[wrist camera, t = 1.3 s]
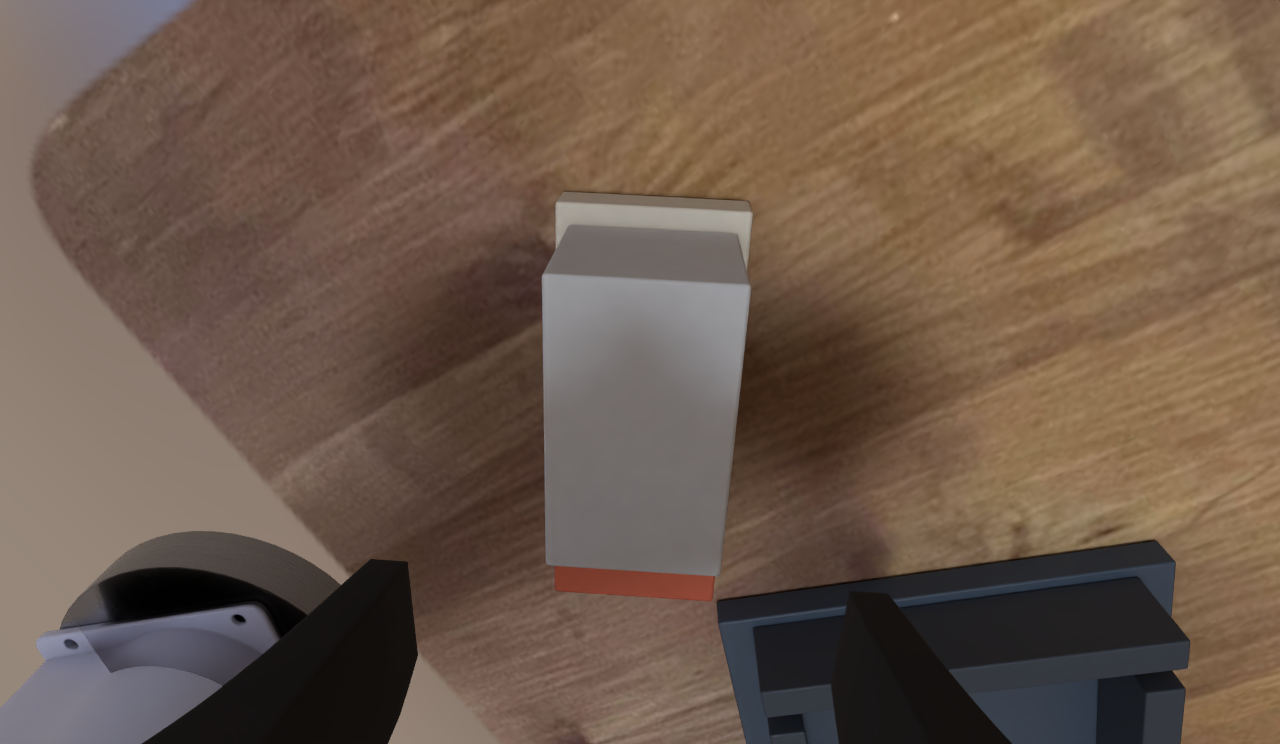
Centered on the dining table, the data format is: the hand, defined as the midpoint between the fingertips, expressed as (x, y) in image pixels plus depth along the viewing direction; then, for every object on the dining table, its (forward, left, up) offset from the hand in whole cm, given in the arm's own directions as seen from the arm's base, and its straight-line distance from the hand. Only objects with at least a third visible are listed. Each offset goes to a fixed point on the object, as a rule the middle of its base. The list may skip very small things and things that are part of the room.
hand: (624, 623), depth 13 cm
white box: (0, 0, -9) cm, 9 cm away
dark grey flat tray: (+7, -16, -9) cm, 20 cm away
